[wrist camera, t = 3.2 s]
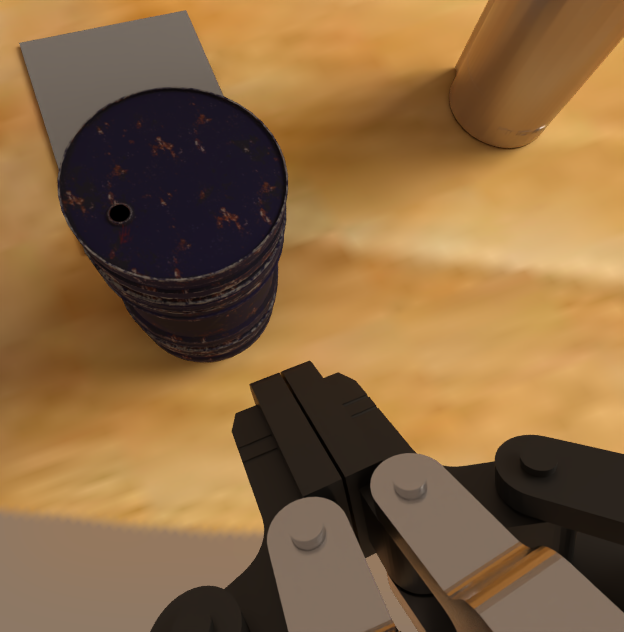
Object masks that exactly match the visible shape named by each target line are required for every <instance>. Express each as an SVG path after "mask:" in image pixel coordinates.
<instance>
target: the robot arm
mask: <svg viewBox="0 0 624 632" xmlns="http://www.w3.org/2000/svg"><path fill="white" fill-rule="evenodd" d="M623 37H624V0H489V1H488V3H487V5H486V7H485V9H484V11H483V12H482V14H481V16H480V18H479V20H478V22H477V24H476V26H475V28H474V30H473V32H472V34H471V36H470V38H469V40H468V42H467V44H466V46H465V48H464V50H463V52H462V54H461V56H460V58H459V60H458V62H457V64H456V66H455V68H456V72H457V75H456V77H455V79H454V81H453V83H452V85H451V88H450V92H449V102H450V106H451V110H452V112H453V114H454V116H455V118H456V120H457V121H458V122H459V124H460V125H461V126H462V127H463V128H464V129H465V130H466V131H467V132H468V133H469V134H470V135H472V136H473V137H475V138H477V139H478V140H480V141H482V142H484V143H487V144H489V145H493V146H497V147H502V148H515V147H521V146H524V145H527V144H529V143H531V142H532V141H534V140H535V139H537V138H538V136H539V135H540V134H541V133H542V132H543V131H544V129H545V128H546V127H547V126H548V125H549V124H550V122H551V121H552V120H553V119H554V118H555V117H556V115H557V114H558V113H559V112H560V111H561V110H562V109H563V107H564V106H565V105H566V104H567V103H568V102H569V101H570V99H571V98H572V97H573V96H574V95H575V94H576V92H577V91H578V90H579V89H580V88H581V87H582V85H583V84H584V83H585V82H586V81H587V80H588V78H589V77H590V76H591V75H592V74H593V72H594V71H595V70H596V69H597V68H598V67H599V65H600V64H601V63H602V62H603V61H604V60H605V58H606V57H607V56H608V55H609V54H610V53H611V51H612V50H613V49H614V48H615V47H616V46H617V44H618V43H619V42H620V41H621V40H622V38H623ZM250 389H251V392H252V395H253V398H254V401H255V404H256V406H253V407H251V408H248V409H246V410H243V411H241V412H238V413H236V414H235V419H234V423H233V428H232V433H233V436H234V439H235V442H236V445H237V448H238V450H239V453H240V456H241V459H242V462H243V465H244V468H245V470H246V473H247V476H248V479H249V482H250V485H251V487H252V490H253V493H254V496H255V499H256V502H257V504H258V507H259V510H260V513H261V516H262V519H263V523H264V538H263V542H262V546H261V548H260V550H259V553H258V554H257V556H256V558H255V559H254V561H253V562H252V563H251V565H250V566H249V567H248V568H247V569H246V570H245V571H244V572H243V573H242V574H241V575H240V576H239V577H237V578H236V579H235V580H234V581H233V582H232V583H231V584H230V585H228V587H226V588H225V589H222V588H219V587H216V586H201V587H197V588H193V589H191V590H189V591H187V592H185V593H183V594H182V595H180V596H178V597H177V598H176V599H174V600H173V601H172V602H171V603H170V604H169V605H168V606H167V607H166V608H165V609H164V611H163V612H162V613H161V614H160V616H159V617H158V619H157V621H156V622H155V624H154V626H153V628H152V629H151V631H150V632H401V631H398V629H397V628H396V626H395V624H394V622H393V620H392V618H391V616H390V614H389V611H388V609H387V607H386V604H385V602H384V600H383V598H382V596H381V593H380V591H379V589H378V586H377V584H376V582H375V579H374V577H373V575H372V573H371V570H370V568H369V566H368V564H367V562H366V559H365V558H367V557H369V556H371V555H373V554H375V553H377V555H378V557H379V558H380V560H381V562H382V564H383V565H384V567H385V569H386V571H387V577H388V582H389V585H390V589H391V590H392V592H393V594H394V596H395V597H396V599H397V600H398V602H399V603H400V605H401V606H402V608H403V609H404V611H405V612H406V614H407V615H408V617H409V618H410V620H411V621H412V623H413V624H414V626H415V628H416V629H417V631H418V632H624V454H620V453H616V452H612V451H607V450H603V449H598V448H594V447H589V446H585V445H580V444H576V443H572V442H567V441H563V440H558V439H554V438H549V437H545V436H539V435H522V436H517V437H514V438H511V439H509V440H507V441H506V442H504V443H503V444H502V445H501V446H500V447H499V448H498V450H497V452H496V455H495V462H488V463H482V464H475V465H468V466H459V467H449V466H442V465H441V464H440V463H439V462H437V461H436V460H434V459H432V458H430V457H428V456H425V455H421V454H417V453H416V452H415V451H414V450H413V449H412V448H411V447H410V446H409V444H408V443H407V442H406V441H405V440H404V438H403V437H402V436H401V435H400V434H399V432H398V431H397V430H396V429H395V428H394V426H393V425H392V424H391V423H390V422H389V420H388V419H387V418H386V417H385V416H384V414H383V413H382V412H381V411H380V409H379V408H377V407H376V405H375V403H374V402H373V401H372V400H371V399H370V397H368V396H367V394H366V393H365V391H364V390H363V389H362V388H361V387H360V385H359V384H358V383H357V382H356V381H355V380H353V379H351V378H349V377H347V376H345V375H343V374H340V373H335V374H333V375H330V376H328V377H325V378H323V377H322V376H321V374H320V373H319V372H318V370H317V369H316V368H315V366H314V365H313V363H312V362H311V361H307V362H305V363H302V364H300V365H297V366H295V367H292V368H289V369H287V370H284V371H282V372H281V375H280V373H277V374H274V375H272V376H269V377H267V378H264V379H261V380H259V381H256V382H254V383H251V384H250Z"/></svg>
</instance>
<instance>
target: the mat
mask: <svg viewBox="0 0 624 632" xmlns="http://www.w3.org/2000/svg"><path fill="white" fill-rule="evenodd" d="M19 44H20V47H21V50H22V54H23V57H24V60H25V63H26V66H27V70H28V73H29V76H30V79H31V82H32V85H33V89H34V92H35V95H36V98H37V101H38V105H39V108H40V111H41V114H42V117H43V120H44V124H45V127H46V130H47V133H48V136H49V140H50V143H51V146H52V149H53V152H54V155H55V159H56V162H57V165H58V168H59V167H60V162H61V160H62V157H63V154H64V151H65V149H66V147H67V145H68V143H69V142H70V140H71V138H72V137H73V135H74V134H75V132H76V131H77V130H78V129H79V128H80V126H81V125H82V124H83V123H84V122H85V121H86V120H87V119H88V118H90V117H91V116H92V115H93V114H94V113H95V112H96V111H98V110H100V109H101V108H103V107H104V106H106V105H107V104H109V103H111V102H113V101H115V100H117V99H119V98H121V97H123V96H126V95H129V94H132V93H135V92H138V91H142V90H148V89H153V88H161V87H185V88H194V89H200V90H205V91H209V92H212V93H215V94H218V95H221V96H223V94H222V92H221V89H220V87H219V85H218V82H217V80H216V78H215V75H214V73H213V71H212V69H211V66H210V64H209V62H208V59H207V57H206V55H205V53H204V50H203V48H202V46H201V43H200V41H199V39H198V37H197V34H196V32H195V30H194V27H193V25H192V23H191V21H190V18H189V16H188V14H187V11H186V10H185V11H180V12H175V13H170V14H165V15H160V16H155V17H150V18H145V19H139V20H134V21H129V22H124V23H119V24H114V25H109V26H104V27H99V28H94V29H88V30H83V31H78V32H73V33H68V34H63V35H58V36H53V37H48V38H43V39H37V40H32V41H27V42H22V43H19ZM84 251H85V250H84ZM85 254H86V252H85ZM86 255H87V254H86Z"/></svg>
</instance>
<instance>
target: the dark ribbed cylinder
mask: <svg viewBox="0 0 624 632" xmlns="http://www.w3.org/2000/svg"><path fill="white" fill-rule="evenodd" d="M287 193H288V173H287V168H286V163H285V159H284V156H283V154H282V151H281V149H280V146H279V145H278V143H277V141H276V139H275V138H274V136H273V134H272V133H271V132H270V131H269V129H268V128H267V127H266V126H265V125H264V123H263V122H262V121H261V120H259V119H258V118H257V117H256V116H255V115H254V114H253V113H252V112H250V111H249V110H247V109H246V108H244V107H243V106H241V105H240V104H238V103H236V102H234V101H232V100H230V99H228V98H226V97H224V96H221V95H218V94H215V93H212V92H209V91H205V90H200V89H194V88H185V87H161V88H153V89H148V90H142V91H138V92H135V93H132V94H129V95H126V96H123V97H121V98H119V99H117V100H115V101H113V102H111V103H109V104H107V105H106V106H104V107H103V108H101V109H100V110H98V111H96V112H95V113H94V114H93V115H92V116H91V117H90V118H88V119H87V120H86V121H85V122H84V123H83V124H82V125H81V126H80V128H79V129H78V130H77V131H76V132H75V134H74V135H73V137H72V138H71V140H70V142H69V143H68V145H67V147H66V149H65V151H64V154H63V157H62V160H61V162H60V167H59V173H58V197H59V201H60V206H61V210H62V213H63V215H64V217H65V219H66V222H67V224H68V226H69V227H70V229H71V230H72V232H73V233H74V235H75V236H76V238H77V239H78V240H79V242H80V243H81V244H82V246H83V248H84V250H85V252H86V254H87V256H88V257H89V259H90V260H91V262H92V263H93V265H94V266H95V268H96V269H97V270H98V272H99V273H100V274H101V276H102V277H103V278H104V280H105V281H106V283H107V284H108V286H109V287H110V288H111V289H112V290H113V291H114V292H115V293H116V294H117V295H118V296H119V297H121V298H122V299H123V302H124V304H125V306H126V308H127V310H128V312H129V313H130V315H131V316H132V318H133V319H134V320H135V321H136V322H137V323H138V324H139V326H140V327H141V328H142V329H143V330H144V331H145V332H146V333H147V334H148V335H149V336H150V337H151V338H152V339H153V340H154V341H155V342H156V343H157V344H158V346H160V347H161V348H162V349H164V350H165V351H167V352H168V353H170V354H172V355H174V356H176V357H178V358H182V359H185V360H188V361H194V362H214V361H221V360H224V359H227V358H230V357H233V356H235V355H237V354H239V353H241V352H243V351H244V350H245V349H247V348H248V347H250V346H251V345H252V344H253V343H254V342H255V341H256V340H257V339H258V338H259V337H260V335H261V334H262V333H263V331H264V330H265V328H266V326H267V324H268V322H269V320H270V317H271V314H272V309H273V305H274V302H275V298H276V292H277V285H278V261H279V258H280V256H281V253H282V248H283V242H284V232H285V225H286V200H287Z"/></svg>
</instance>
